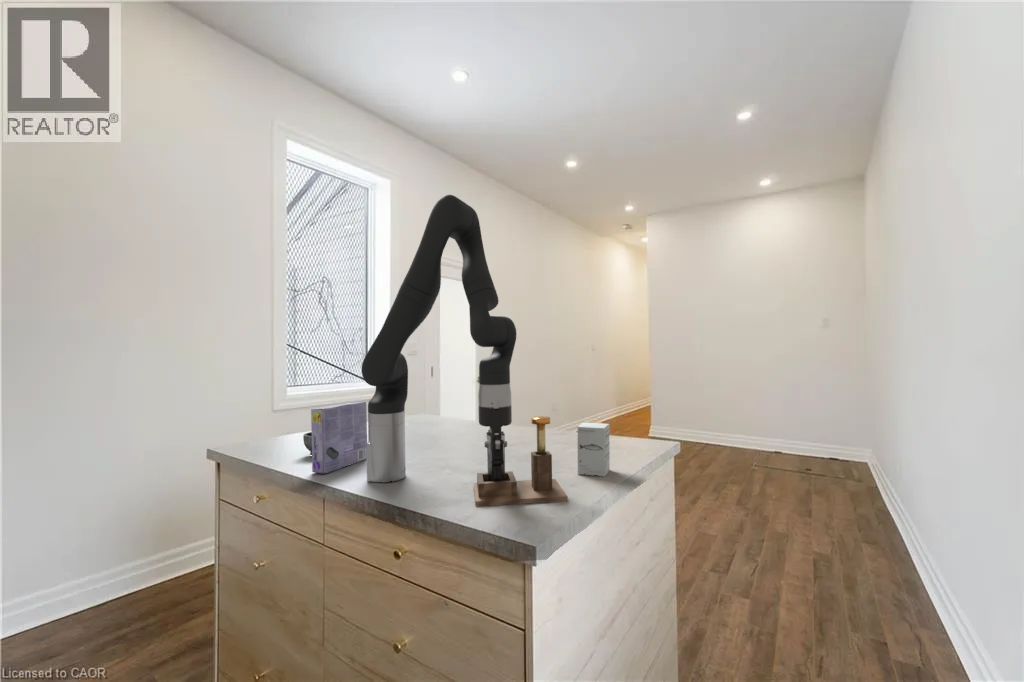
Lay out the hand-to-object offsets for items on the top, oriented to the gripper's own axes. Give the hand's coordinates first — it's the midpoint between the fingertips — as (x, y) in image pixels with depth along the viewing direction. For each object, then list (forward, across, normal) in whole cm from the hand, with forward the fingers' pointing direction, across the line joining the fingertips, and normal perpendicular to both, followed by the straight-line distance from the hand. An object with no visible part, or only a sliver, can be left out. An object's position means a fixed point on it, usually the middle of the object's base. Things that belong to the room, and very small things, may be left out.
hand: (496, 478), depth 105 cm
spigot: (+2, 0, 0) cm, 2 cm away
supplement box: (+4, -14, +27) cm, 31 cm away
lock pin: (-4, 0, +10) cm, 11 cm away
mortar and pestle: (+4, -48, -52) cm, 71 cm away
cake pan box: (+4, -33, -42) cm, 54 cm away
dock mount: (+4, 0, +5) cm, 6 cm away
